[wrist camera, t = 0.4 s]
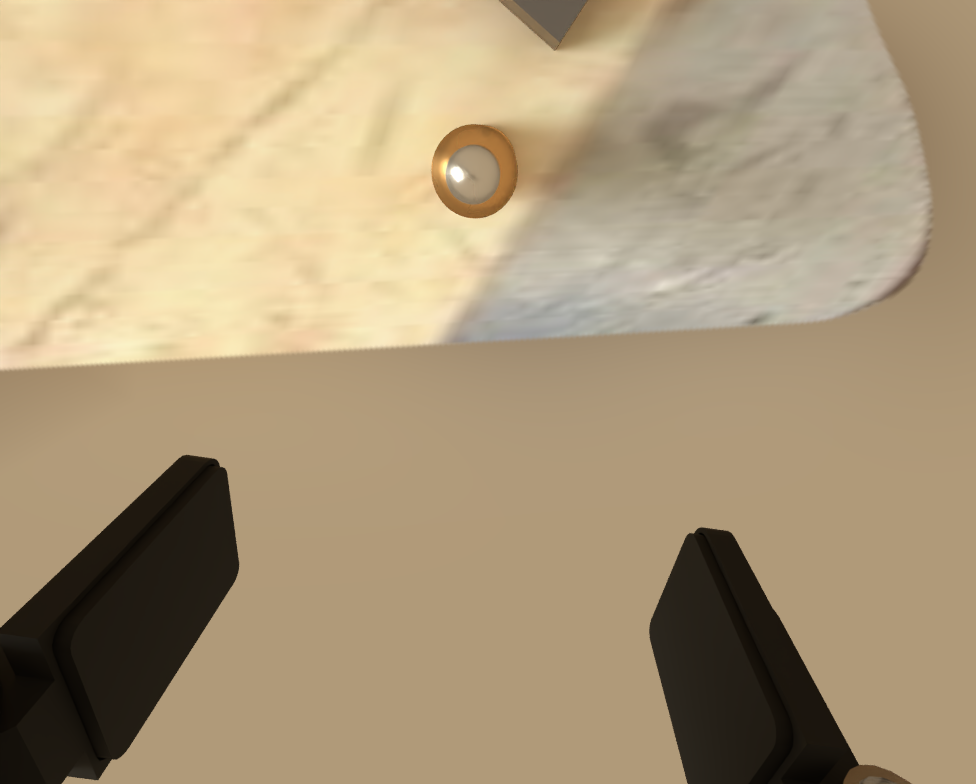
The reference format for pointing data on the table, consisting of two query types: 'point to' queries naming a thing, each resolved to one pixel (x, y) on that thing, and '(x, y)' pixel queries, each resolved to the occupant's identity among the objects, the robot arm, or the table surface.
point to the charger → (546, 16)
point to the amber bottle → (474, 170)
